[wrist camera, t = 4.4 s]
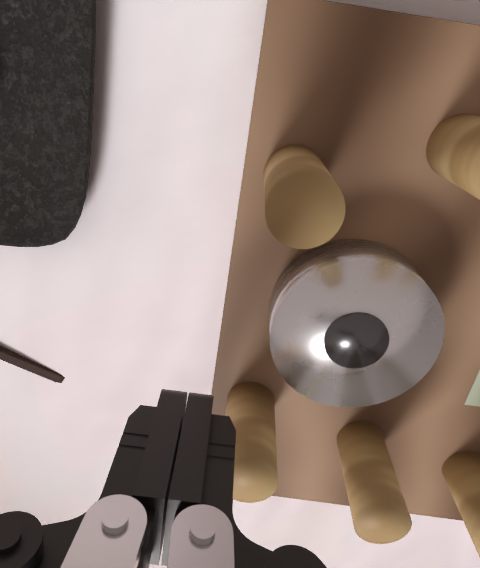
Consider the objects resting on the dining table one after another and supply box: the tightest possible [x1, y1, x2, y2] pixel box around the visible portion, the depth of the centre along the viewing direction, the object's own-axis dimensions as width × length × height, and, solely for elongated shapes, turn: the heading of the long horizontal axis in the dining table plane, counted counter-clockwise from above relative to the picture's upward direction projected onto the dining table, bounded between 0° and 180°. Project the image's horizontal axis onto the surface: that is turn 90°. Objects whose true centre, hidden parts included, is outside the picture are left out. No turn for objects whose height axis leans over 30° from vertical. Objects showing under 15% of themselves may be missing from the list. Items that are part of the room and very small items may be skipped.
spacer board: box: [212, 0, 480, 557], centre depth 19 cm, size 18×24×6 cm
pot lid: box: [269, 239, 445, 408], centre depth 20 cm, size 7×7×2 cm
